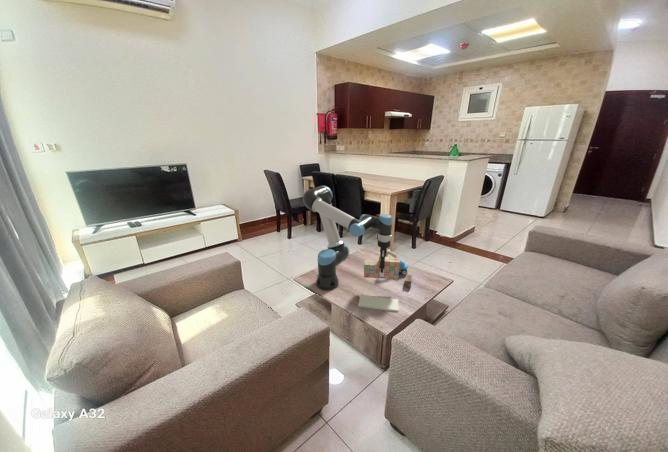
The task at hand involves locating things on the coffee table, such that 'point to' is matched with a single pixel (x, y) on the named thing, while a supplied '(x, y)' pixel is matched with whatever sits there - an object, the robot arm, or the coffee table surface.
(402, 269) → the toy excavator
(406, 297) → the coffee table surface
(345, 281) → the coffee table surface
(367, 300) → the sage board
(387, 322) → the coffee table surface
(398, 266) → the stack of blocks
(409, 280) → the walnut brick
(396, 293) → the coffee table surface
